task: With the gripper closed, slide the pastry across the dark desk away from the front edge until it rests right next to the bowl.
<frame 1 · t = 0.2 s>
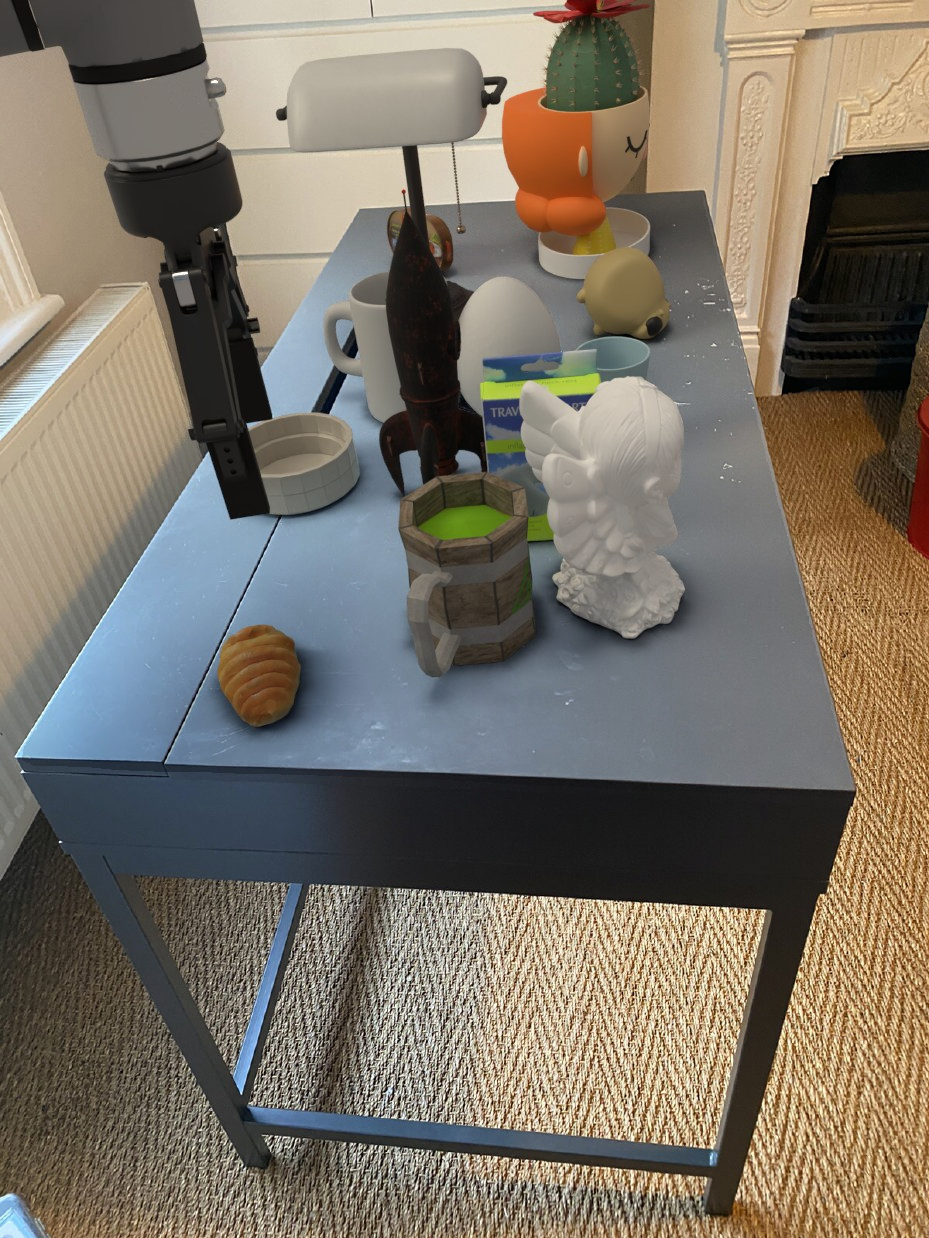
hand: (253, 463, 69), 18 cm above the table, tool pointing down, fingers open, 13 cm apart
decorative egg: (510, 406, 110), on the table
cherub figurine: (610, 603, 81), on the table
mug 2: (466, 644, 79), on the table
toy rocket: (444, 497, 96), on the table
lamp: (427, 328, 129), on the table
pastry: (266, 686, 77), on the table
cup: (611, 444, 101), on the table
potted cactus: (578, 254, 145), on the table
mug: (397, 404, 113), on the table
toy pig: (624, 332, 122), on the table
tin: (423, 269, 147), on the table
box: (548, 531, 90), on the table
bowl: (300, 483, 101), on the table
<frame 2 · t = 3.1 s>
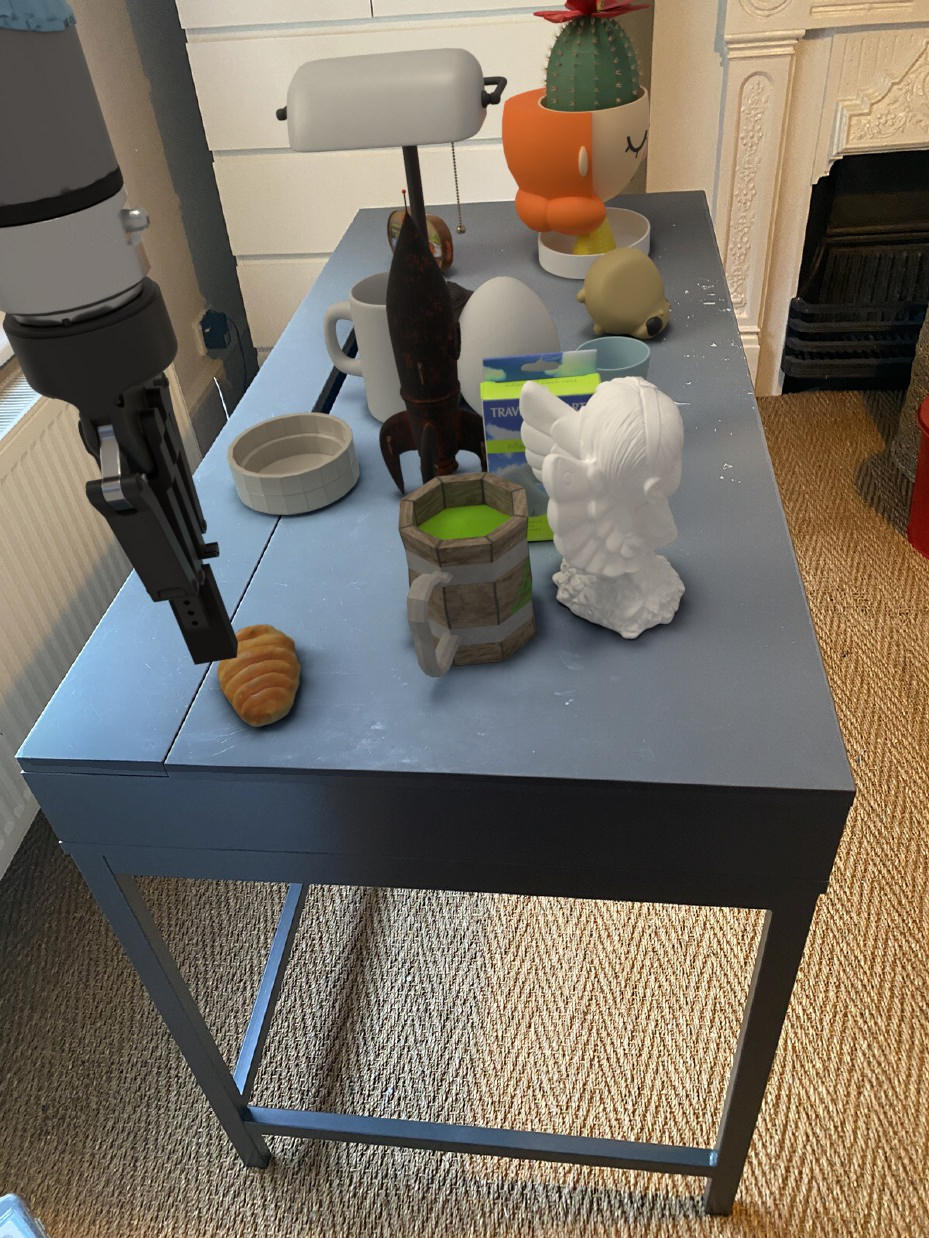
hand: (216, 653, 60), 14 cm above the table, tool pointing down, fingers closed
nothing on the table moved.
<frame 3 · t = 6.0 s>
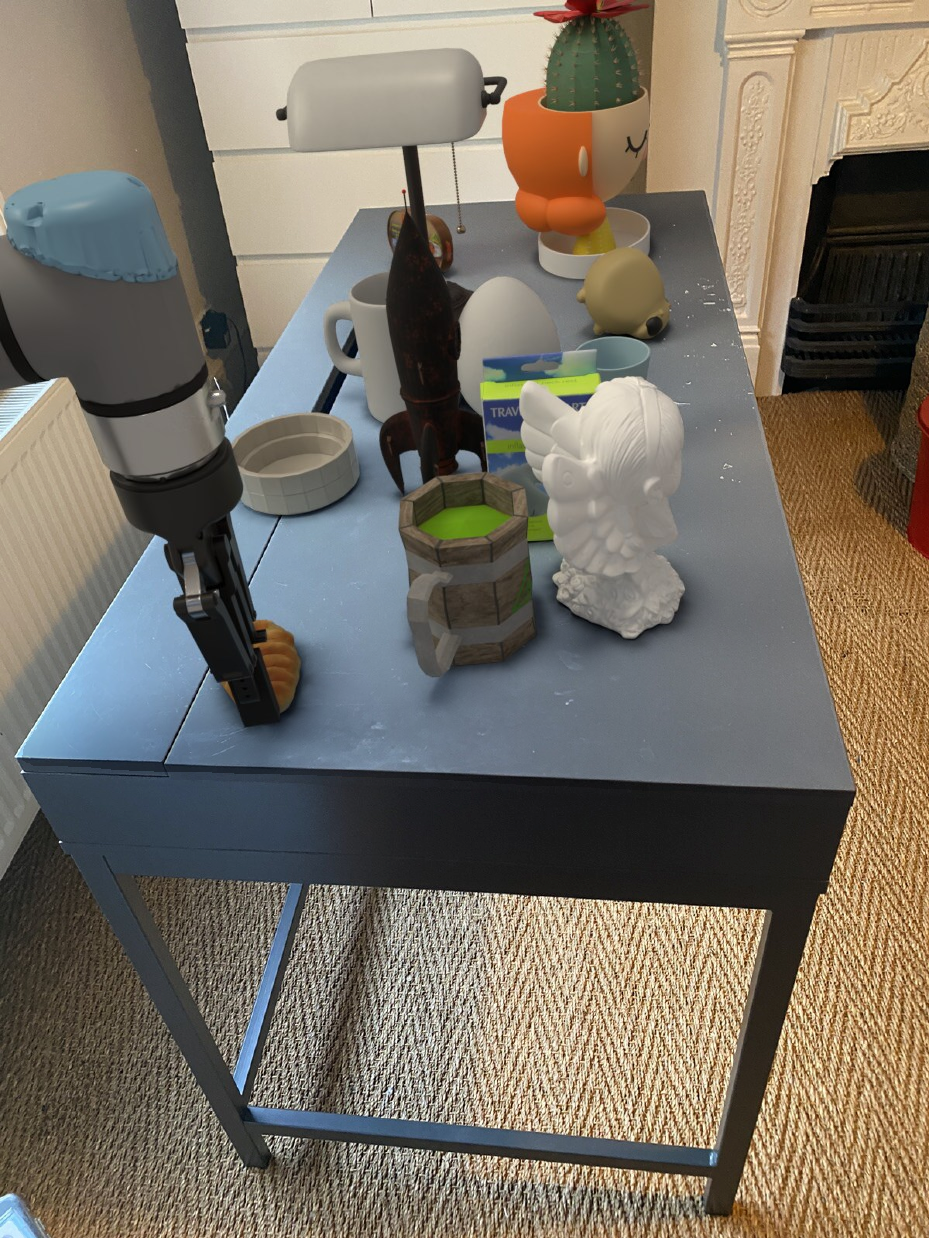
hand: (262, 717, 72), 2 cm above the table, tool pointing down, fingers closed
pastry: (266, 680, 78), on the table, touching gripper
everything else where it was.
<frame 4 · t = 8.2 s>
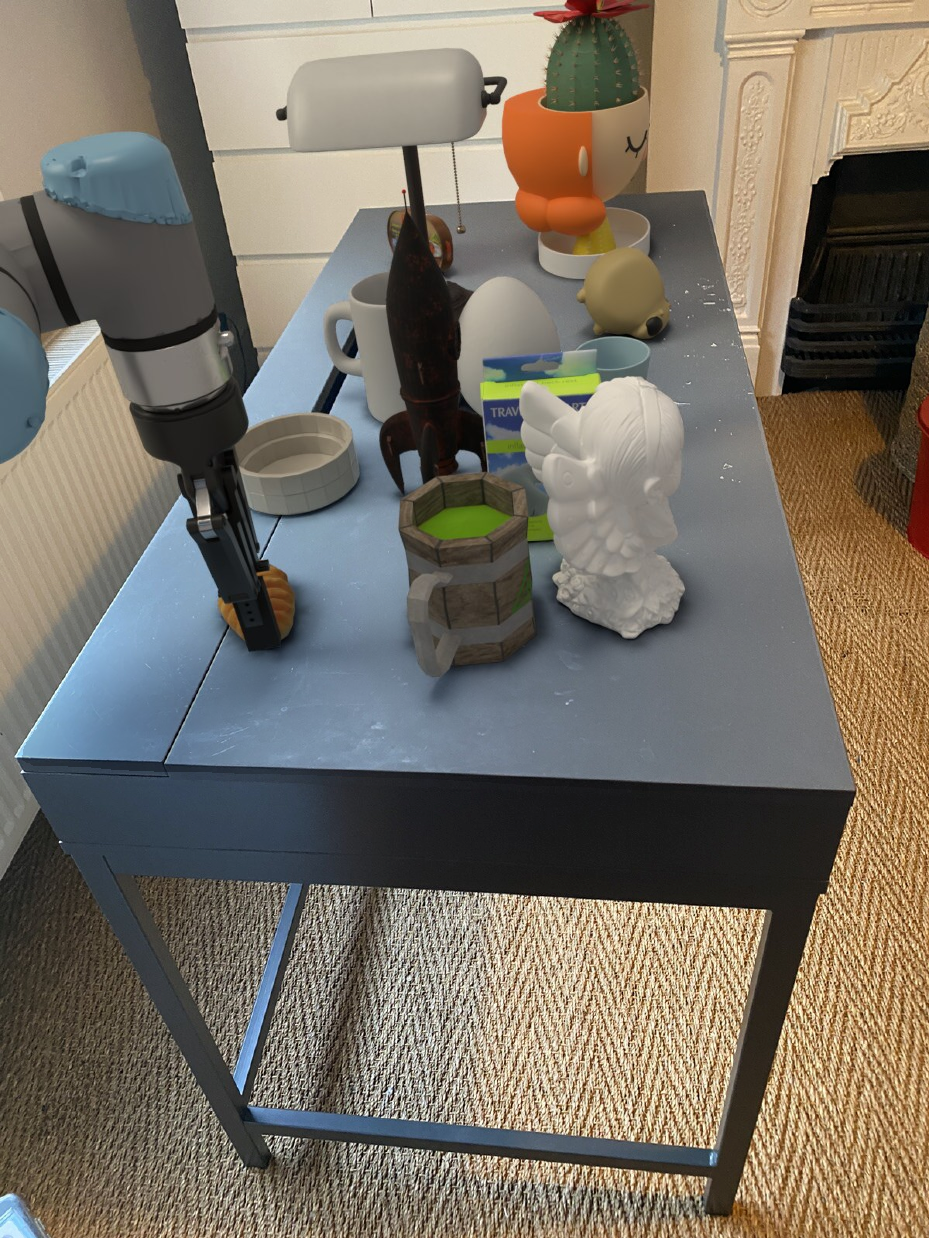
hand: (265, 643, 79), 2 cm above the table, tool pointing down, fingers closed
pastry: (264, 615, 84), on the table, touching gripper
everything else where it was.
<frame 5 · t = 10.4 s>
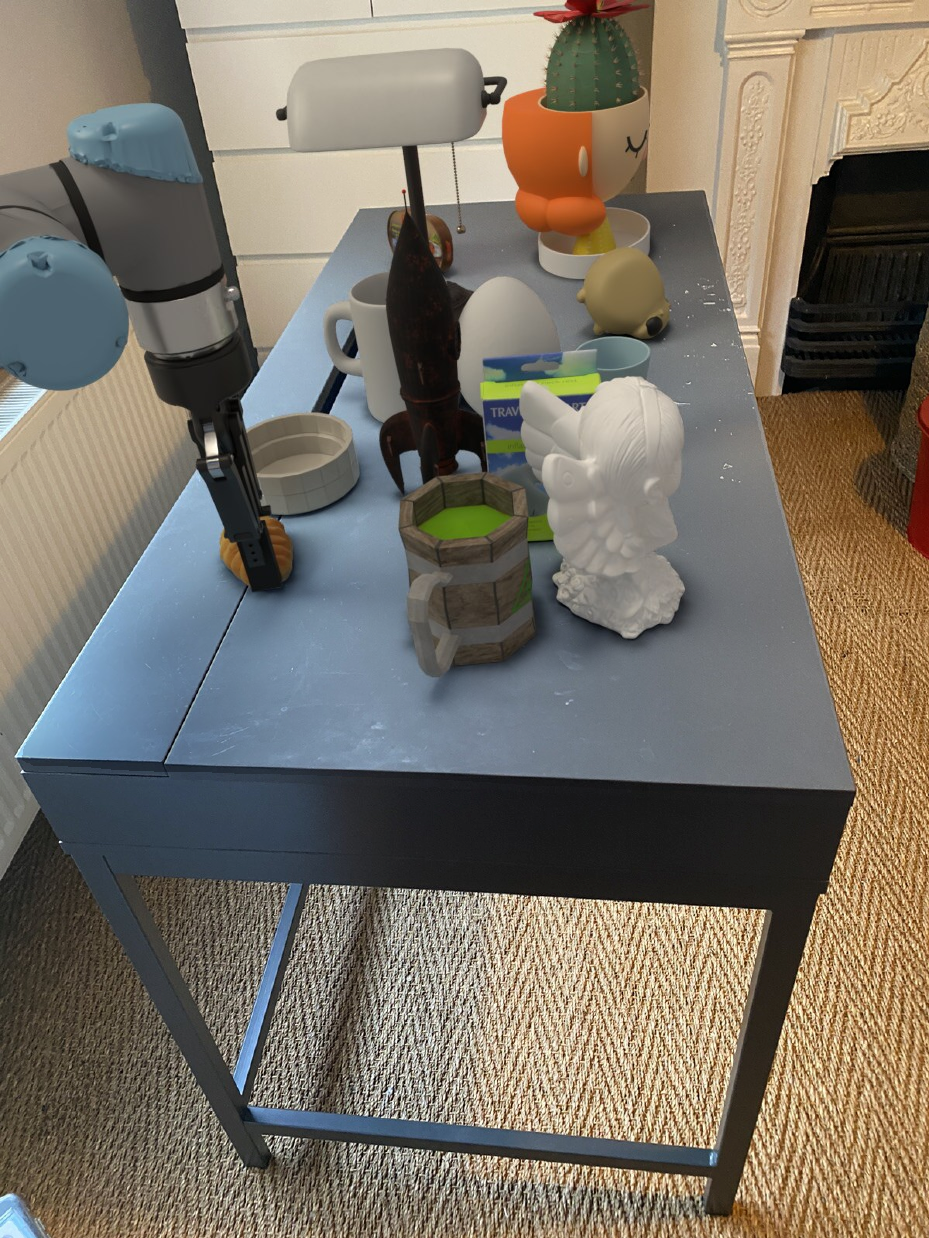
hand: (267, 584, 85), 2 cm above the table, tool pointing down, fingers closed
pastry: (263, 563, 91), on the table, touching gripper
everything else where it was.
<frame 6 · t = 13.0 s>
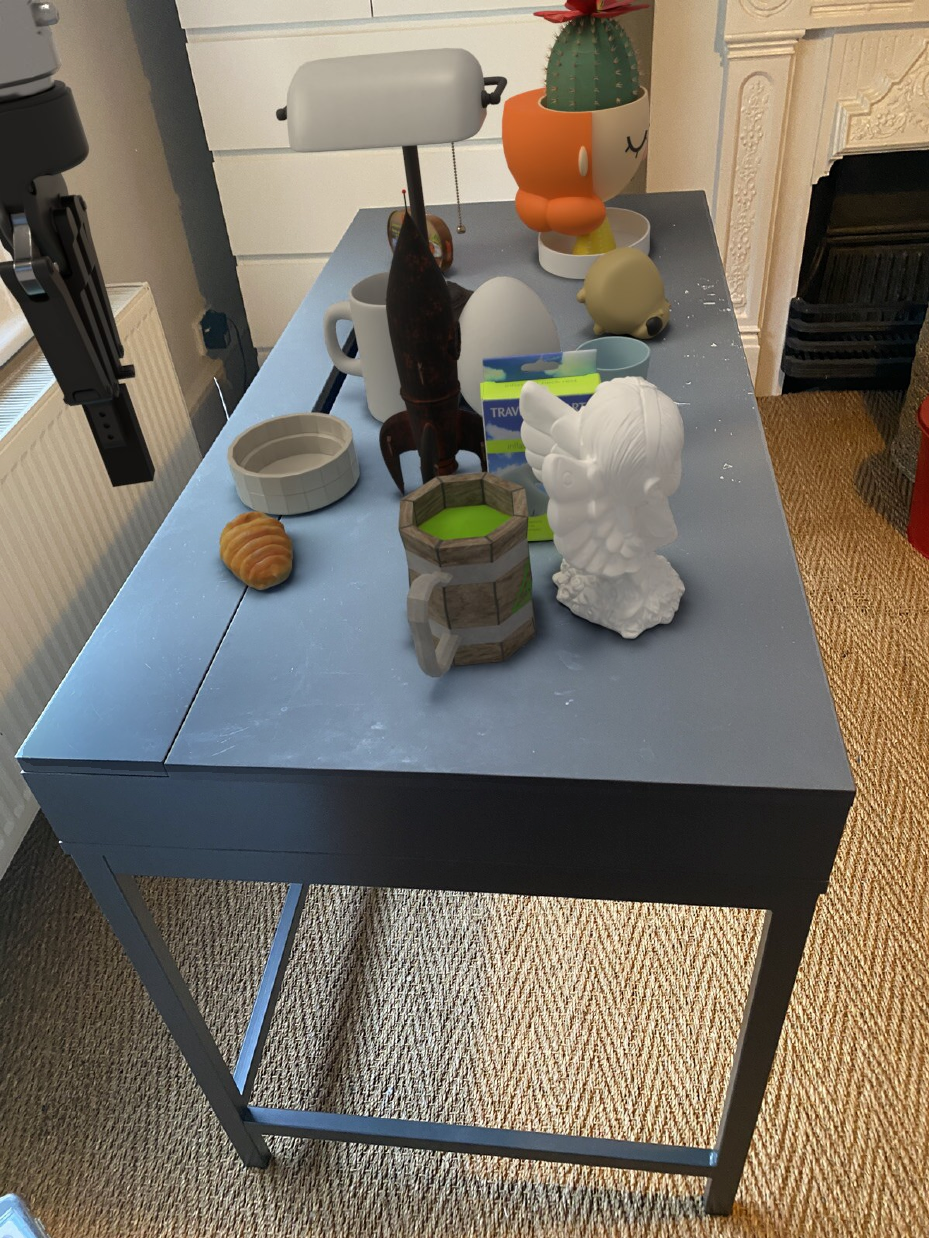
hand: (134, 478, 63), 21 cm above the table, tool pointing down, fingers closed
pastry: (263, 562, 91), on the table
everything else where it was.
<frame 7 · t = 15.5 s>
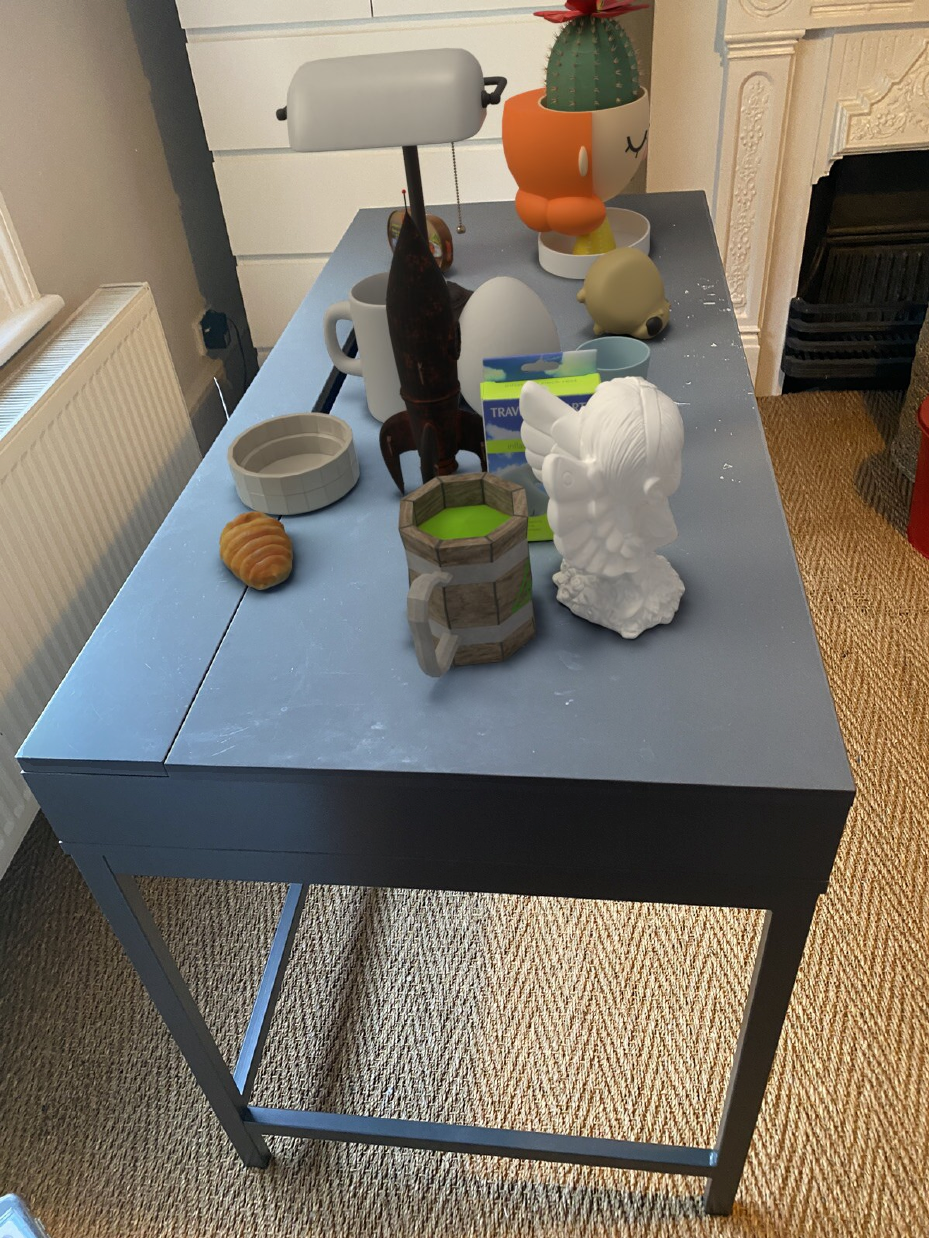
nothing on the table moved.
at the end: pastry inside the target area on the table beside the bowl (2.7 cm from its centre), on the table; pastry moved 17.7 cm from its start; pastry touching table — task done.
